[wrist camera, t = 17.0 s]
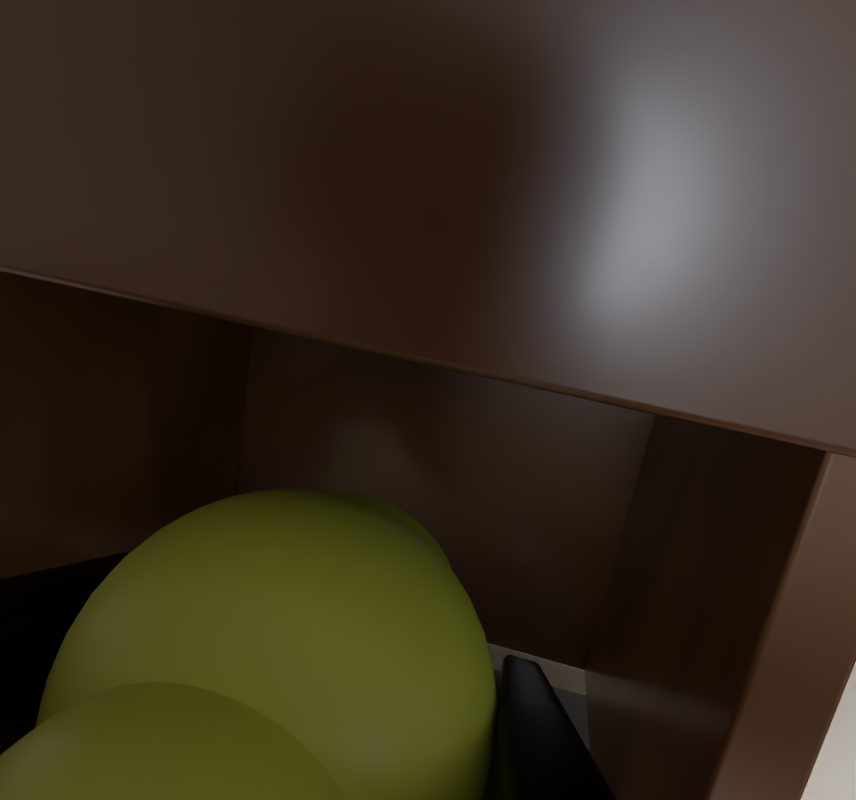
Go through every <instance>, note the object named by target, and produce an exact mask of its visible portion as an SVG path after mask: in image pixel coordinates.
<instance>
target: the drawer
mask: <svg viewBox="0 0 856 800" xmlns="http://www.w3.org/2000/svg"><path fill="white" fill-rule="evenodd" d="M291 488H294V489H311V490H320V491H325V492H336V491H338V492H353V493H358V494H364V495H368V496H371V497H374V498H377V499H381V500H383V501H385V502H387V503H390V504H392V505H394V506H396V507H397V508H399V509H401V510H402V511H404V512H406V513H407V514H409V515H410V516H411V517H412V518H414V519H415V520H416V521H417V522H419V523H420V524H421V525H422V526H423V527H424V528H425V529H426V530H427V531H428V532H429V533H430V534H431V535H432V537H433V538H434V539H435V541H436V542H437V543H438V544H439V546H440V547H441V549H442V551H443V552H444V554H445V556H446V557H447V559H448V561H449V563H450V565H451V568H452V570H453V572H454V574H455V575H456V576H457V578H458V579H459V581H460V583H461V584H462V586H463V588H464V589H465V591H466V593H467V594H468V596H469V598H470V600H471V602H472V605H473V607H474V609H475V612H476V614H477V616H478V619H479V621H480V623H481V626H482V628H483V630H484V633H485V636H486V640H487V642H488V643H491V644H495V645H498V646H502V647H506V648H509V649H513V650H516V651H520V652H523V653H527V654H530V655H534V656H537V657H541V658H544V659H548V660H551V661H555V662H559V663H562V664H566V665H569V666H573V667H576V668H580V669H583V670H585V684H586V696H585V695H581V694H578V693H574V692H571V691H567V690H564V689H560V688H557V687H553V686H552V688H553V690H554V692H555V693H556V695H557V697H558V699H559V700H560V702H561V704H562V706H563V707H564V709H565V711H566V712H567V714H568V716H569V718H570V719H571V721H572V723H573V725H574V726H575V728H576V730H577V732H578V733H579V735H580V737H581V739H582V740H583V742H584V744H585V746H586V747H587V749H588V751H589V752H590V754H591V756H592V758H593V759H594V761H595V763H596V765H597V766H598V768H599V770H600V772H601V773H602V775H603V777H604V779H605V780H606V782H607V784H608V785H609V787H610V789H611V791H612V792H613V794H614V796H615V798H616V799H617V800H800V799H801V797H802V794H803V792H804V789H805V787H806V784H807V782H808V779H809V777H810V774H811V772H812V769H813V767H814V764H815V762H816V759H817V757H818V754H819V752H820V749H821V747H822V744H823V742H824V739H825V737H826V734H827V732H828V729H829V727H830V724H831V722H832V719H833V717H834V714H835V712H836V709H837V706H838V704H839V701H840V699H841V696H842V694H843V691H844V689H845V686H846V684H847V681H848V679H849V676H850V674H851V671H852V669H853V666H854V664H855V661H856V458H853V457H849V456H844V455H840V454H835V453H830V452H826V451H821V450H817V449H812V448H808V447H803V446H798V445H794V444H789V443H785V442H780V441H775V440H771V439H766V438H762V437H757V436H752V435H748V434H743V433H739V432H734V431H729V430H725V429H720V428H716V427H711V426H707V425H702V424H697V423H693V422H688V421H684V420H679V419H674V418H670V417H665V416H661V415H656V414H651V413H647V412H642V411H638V410H633V409H628V408H624V407H619V406H615V405H610V404H606V403H601V402H596V401H592V400H587V399H583V398H578V397H573V396H569V395H564V394H560V393H555V392H550V391H546V390H541V389H537V388H532V387H527V386H523V385H518V384H514V383H509V382H504V381H500V380H495V379H491V378H486V377H482V376H477V375H472V374H468V373H463V372H459V371H454V370H449V369H445V368H440V367H436V366H431V365H426V364H422V363H417V362H413V361H408V360H403V359H399V358H394V357H390V356H385V355H381V354H376V353H371V352H367V351H362V350H358V349H353V348H348V347H344V346H339V345H335V344H330V343H325V342H321V341H316V340H312V339H307V338H302V337H298V336H293V335H289V334H284V333H280V332H275V331H270V330H266V329H261V328H257V327H252V326H247V325H243V324H238V323H234V322H229V321H224V320H220V319H215V318H211V317H206V316H201V315H197V314H192V313H188V312H183V311H178V310H174V309H169V308H165V307H160V306H156V305H151V304H146V303H142V302H137V301H133V300H128V299H123V298H119V297H114V296H110V295H105V294H100V293H96V292H91V291H87V290H82V289H77V288H73V287H68V286H64V285H59V284H55V283H50V282H45V281H41V280H36V279H32V278H27V277H22V276H18V275H13V274H9V273H4V272H0V579H3V578H8V577H12V576H17V575H22V574H26V573H31V572H35V571H40V570H45V569H49V568H54V567H59V566H63V565H68V564H72V563H77V562H82V561H86V560H91V559H96V558H100V557H105V556H109V555H114V554H119V553H123V552H128V551H133V550H134V549H135V548H137V547H138V546H139V545H140V544H142V543H143V542H144V541H145V540H147V539H148V538H149V537H150V536H152V535H153V534H154V533H156V532H157V531H158V530H159V529H161V528H163V527H165V526H166V525H168V524H170V523H172V522H174V521H175V520H177V519H179V518H181V517H182V516H184V515H186V514H188V513H190V512H192V511H194V510H195V509H197V508H200V507H203V506H205V505H208V504H211V503H213V502H216V501H219V500H222V499H225V498H228V497H232V496H235V495H240V494H244V493H249V492H254V491H260V490H273V489H291ZM493 671H494V678H495V685H497V681H498V677H499V673H500V671H498V670H495V669H493Z"/></svg>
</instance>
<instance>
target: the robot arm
mask: <svg viewBox="0 0 856 800" xmlns="http://www.w3.org/2000/svg"><path fill="white" fill-rule="evenodd" d="M131 552H132V551H128V552H123V553H119V554H114V555H109V556H105V557H100V558H96V559H91V560H86V561H82V562H77V563H72V564H68V565H63V566H59V567H54V568H49V569H45V570H40V571H35V572H31V573H26V574H22V575H17V576H12V577H8V578H3V579H0V755H1V754H3V753H4V752H5V751H6V750H7V749H8V748H10V747H11V746H12V745H14V744H15V743H16V742H17V741H19V740H20V739H21V738H23V737H24V736H25V735H26V734H28V733H29V732H30V731H32V730H33V729H34V728H35V726H36V722H37V717H38V713H39V708H40V704H41V700H42V696H43V692H44V688H45V684H46V680H47V678H48V675H49V673H50V670H51V668H52V666H53V663H54V661H55V658H56V656H57V654H58V651H59V649H60V647H61V644H62V642H63V640H64V638H65V635H66V633H67V632H68V630H69V629H70V627H71V625H72V624H73V622H74V621H75V619H76V617H77V616H78V614H79V613H80V611H81V610H82V608H83V606H84V605H85V603H86V602H87V600H88V599H89V597H90V596H91V594H92V593H93V592H94V591H95V589H96V588H97V587H98V586H99V585H100V584H101V583H102V581H103V580H104V579H105V578H106V577H107V576H108V575H109V574H110V572H111V571H112V570H113V569H114V568H115V567H116V566H117V565H118V564H119V563H120V561H121V560H122V559H123V558H124V557H126V556H127V555H128V554H129V553H131ZM496 692H497V717H496V724H495V731H494V738H493V746H492V754H491V761H490V768H489V774H488V778H487V783H486V788H485V793H484V798H483V800H617V799H616V798H615V796H614V794H613V792H612V791H611V789H610V787H609V785H608V784H607V782H606V780H605V779H604V777H603V775H602V773H601V772H600V770H599V768H598V766H597V765H596V763H595V761H594V759H593V758H592V756H591V754H590V752H589V751H588V749H587V747H586V746H585V744H584V742H583V740H582V739H581V737H580V735H579V733H578V732H577V730H576V728H575V726H574V725H573V723H572V721H571V719H570V718H569V716H568V714H567V712H566V711H565V709H564V707H563V706H562V704H561V702H560V700H559V699H558V697H557V695H556V693H555V692H554V690H553V688H552V686H551V685H550V683H549V681H548V679H547V678H546V676H545V674H544V673H543V671H542V669H541V667H540V666H539V665H538V664H537V663H536V662H534V661H530V660H527V659H523V658H519V657H516V656H512V655H507V656H505V657H504V659H503V661H502V665H501V669H500V673H499V677H498V681H497V685H496Z"/></svg>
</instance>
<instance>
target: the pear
mask: <svg viewBox="0 0 856 800" xmlns="http://www.w3.org/2000/svg"><path fill="white" fill-rule="evenodd" d="M496 717H497V692H496V685H495V678H494V671H493V665H492V659H491V654H490V650H489V647H488V643H487V640H486V636H485V633H484V630H483V628H482V626H481V623H480V621H479V619H478V616H477V614H476V612H475V609H474V607H473V605H472V602H471V600H470V598H469V596H468V594H467V593H466V591H465V589H464V588H463V586H462V584H461V583H460V581H459V579H458V578H457V576H456V575H455V574H454V572H453V570H452V568H451V565H450V563H449V561H448V559H447V557H446V556H445V554H444V552H443V551H442V549H441V547H440V546H439V544H438V543H437V542H436V541H435V539H434V538H433V537H432V535H431V534H430V533H429V532H428V531H427V530H426V529H425V528H424V527H423V526H422V525H421V524H420V523H419V522H417V521H416V520H415V519H414V518H412V517H411V516H410V515H409V514H407V513H406V512H404V511H402V510H401V509H399V508H397V507H396V506H394V505H392V504H390V503H387V502H385V501H383V500H381V499H377V498H374V497H371V496H368V495H364V494H358V493H353V492H338V491H336V492H325V491H320V490H311V489H294V488H291V489H273V490H260V491H254V492H249V493H244V494H240V495H235V496H232V497H228V498H225V499H222V500H219V501H216V502H213V503H211V504H208V505H205V506H203V507H200V508H197V509H195V510H194V511H192V512H190V513H188V514H186V515H184V516H182V517H181V518H179V519H177V520H175V521H174V522H172V523H170V524H168V525H166V526H165V527H163V528H161V529H159V530H158V531H157V532H156V533H154V534H153V535H152V536H150V537H149V538H148V539H147V540H145V541H144V542H143V543H142V544H140V545H139V546H138V547H137V548H135V549H134V550H133V551H132V552H131V553H129V554H128V555H127V556H126V557H124V558H123V559H122V560H121V561H120V563H119V564H118V565H117V566H116V567H115V568H114V569H113V570H112V571H111V572H110V574H109V575H108V576H107V577H106V578H105V579H104V580H103V581H102V583H101V584H100V585H99V586H98V587H97V588H96V589H95V591H94V592H93V593H92V594H91V596H90V597H89V599H88V600H87V602H86V603H85V605H84V606H83V608H82V610H81V611H80V613H79V614H78V616H77V617H76V619H75V621H74V622H73V624H72V625H71V627H70V629H69V630H68V632H67V633H66V635H65V638H64V640H63V642H62V644H61V647H60V649H59V651H58V654H57V656H56V658H55V661H54V663H53V666H52V668H51V670H50V673H49V675H48V678H47V680H46V684H45V688H44V692H43V696H42V700H41V704H40V708H39V713H38V717H37V722H36V726H35V728H34V729H33V730H32V731H30V732H29V733H28V734H26V735H25V736H24V737H23V738H21V739H20V740H19V741H17V742H16V743H15V744H14V745H12V746H11V747H10V748H8V749H7V750H6V751H5V752H4V753H3V754H1V755H0V800H483V798H484V793H485V788H486V783H487V778H488V774H489V768H490V761H491V754H492V746H493V738H494V731H495V724H496Z"/></svg>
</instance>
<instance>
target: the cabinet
mask: <svg viewBox="0 0 856 800" xmlns="http://www.w3.org/2000/svg"><path fill="white" fill-rule="evenodd" d="M0 272H4V273H9V274H13V275H18V276H22V277H27V278H32V279H36V280H41V281H45V282H50V283H55V284H59V285H64V286H68V287H73V288H77V289H82V290H87V291H91V292H96V293H100V294H105V295H110V296H114V297H119V298H123V299H128V300H133V301H137V302H142V303H146V304H151V305H156V306H160V307H165V308H169V309H174V310H178V311H183V312H188V313H192V314H197V315H201V316H206V317H211V318H215V319H220V320H224V321H229V322H234V323H238V324H243V325H247V326H252V327H257V328H261V329H266V330H270V331H275V332H280V333H284V334H289V335H293V336H298V337H302V338H307V339H312V340H316V341H321V342H325V343H330V344H335V345H339V346H344V347H348V348H353V349H358V350H362V351H367V352H371V353H376V354H381V355H385V356H390V357H394V358H399V359H403V360H408V361H413V362H417V363H422V364H426V365H431V366H436V367H440V368H445V369H449V370H454V371H459V372H463V373H468V374H472V375H477V376H482V377H486V378H491V379H495V380H500V381H504V382H509V383H514V384H518V385H523V386H527V387H532V388H537V389H541V390H546V391H550V392H555V393H560V394H564V395H569V396H573V397H578V398H583V399H587V400H592V401H596V402H601V403H606V404H610V405H615V406H619V407H624V408H628V409H633V410H638V411H642V412H647V413H651V414H656V415H661V416H665V417H670V418H674V419H679V420H684V421H688V422H693V423H697V424H702V425H707V426H711V427H716V428H720V429H725V430H729V431H734V432H739V433H743V434H748V435H752V436H757V437H762V438H766V439H771V440H775V441H780V442H785V443H789V444H794V445H798V446H803V447H808V448H812V449H817V450H821V451H826V452H830V453H835V454H840V455H844V456H849V457H853V458H856V0H0Z"/></svg>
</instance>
